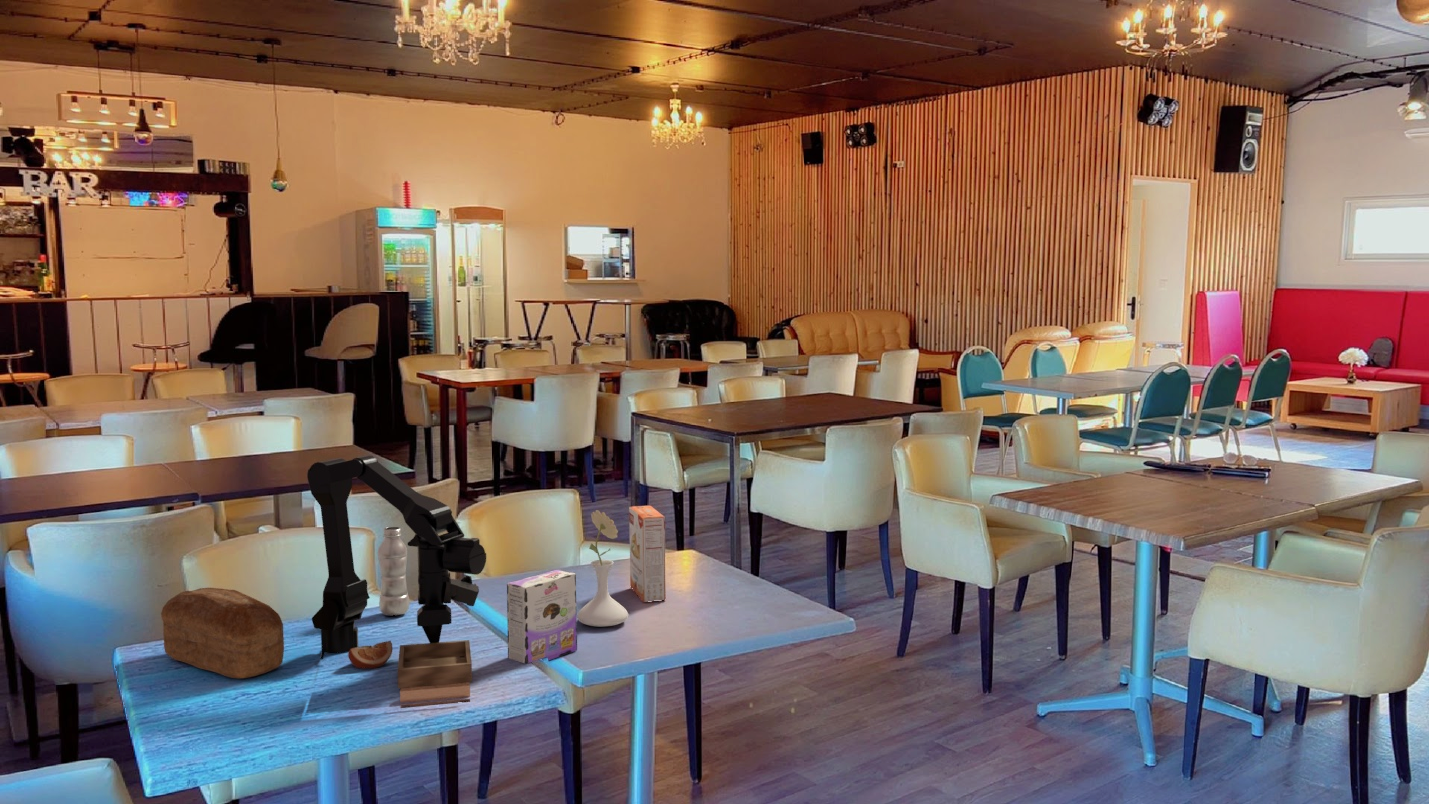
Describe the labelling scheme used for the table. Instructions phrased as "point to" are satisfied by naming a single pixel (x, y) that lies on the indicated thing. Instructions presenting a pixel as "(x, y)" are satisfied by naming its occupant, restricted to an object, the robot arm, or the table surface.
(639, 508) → the cracker box
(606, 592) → the flower in vase
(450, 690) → the rail track
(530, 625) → the candy box
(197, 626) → the bread
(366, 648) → the fruit slice
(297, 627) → the table surface
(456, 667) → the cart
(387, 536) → the plastic bottle
